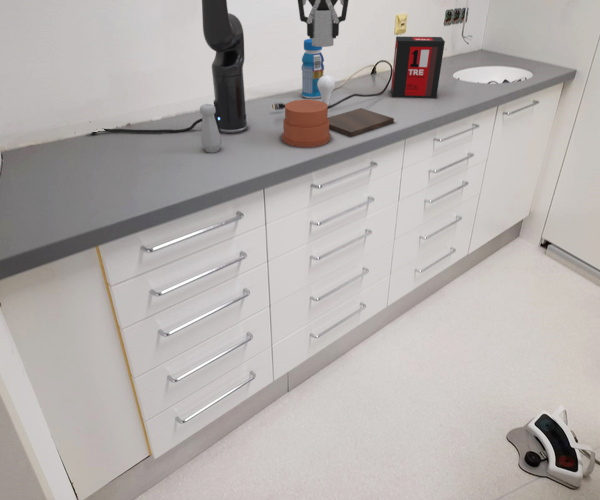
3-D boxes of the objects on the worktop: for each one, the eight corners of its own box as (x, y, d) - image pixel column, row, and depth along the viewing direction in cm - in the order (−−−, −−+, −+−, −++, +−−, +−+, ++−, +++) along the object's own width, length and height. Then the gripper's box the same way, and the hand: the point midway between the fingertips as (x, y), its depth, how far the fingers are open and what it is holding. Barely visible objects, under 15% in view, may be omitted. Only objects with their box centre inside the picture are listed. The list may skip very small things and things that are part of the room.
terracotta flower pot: (280, 147, 139) (279, 113, 134) (283, 130, 152) (283, 98, 146) (330, 147, 139) (331, 113, 133) (330, 130, 151) (331, 98, 145)
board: (350, 136, 146) (351, 132, 145) (318, 124, 156) (318, 120, 155) (393, 122, 157) (394, 118, 156) (360, 112, 166) (360, 107, 165)
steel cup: (311, 47, 131) (311, 10, 126) (312, 42, 136) (312, 8, 131) (333, 46, 131) (334, 10, 126) (333, 42, 136) (334, 7, 131)
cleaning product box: (392, 97, 181) (397, 40, 170) (390, 90, 189) (396, 36, 178) (436, 98, 180) (444, 41, 169) (433, 91, 187) (441, 37, 176)
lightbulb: (320, 110, 168) (320, 78, 162) (315, 105, 173) (315, 74, 167) (336, 108, 170) (337, 76, 164) (330, 103, 175) (331, 72, 168)
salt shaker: (213, 144, 141) (208, 100, 134) (226, 149, 138) (222, 104, 131) (198, 150, 137) (192, 105, 130) (211, 155, 134) (206, 109, 127)
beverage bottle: (299, 98, 181) (298, 41, 170) (304, 92, 188) (304, 37, 177) (321, 99, 179) (322, 42, 168) (325, 93, 186) (326, 38, 175)
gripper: (350, -33, 126) (348, 35, 135) (296, -32, 127) (297, 36, 136) (351, -32, 120) (349, 40, 129) (294, -31, 121) (296, 40, 130)
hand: (322, 37), depth 132 cm, fingers closed on steel cup, 6 cm apart
